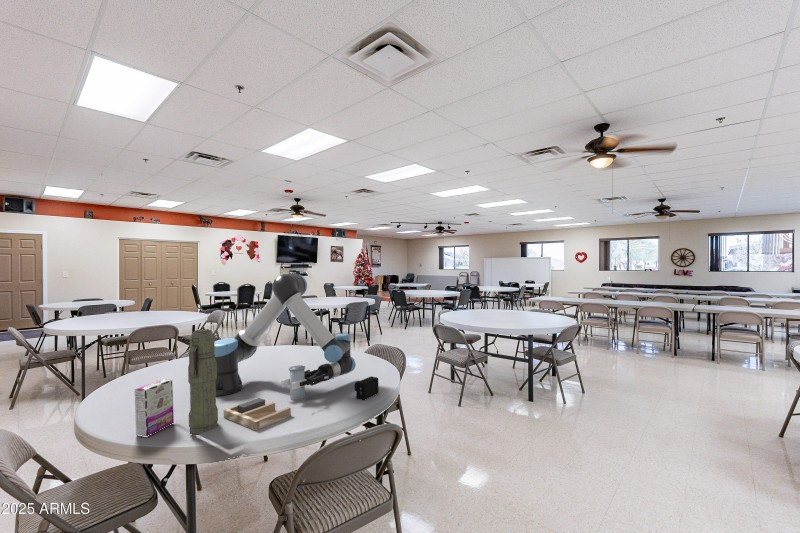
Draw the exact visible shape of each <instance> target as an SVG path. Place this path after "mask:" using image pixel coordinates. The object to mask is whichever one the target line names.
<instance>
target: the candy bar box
mask: <svg viewBox="0 0 800 533" xmlns="http://www.w3.org/2000/svg"><path fill="white" fill-rule="evenodd" d="M134 406H135V431H136V432H135V435H142V436H148V435H150V434H153V433H155V432H157V431H159V430H160V429H162V428H164V427H166V426H168V425H170V424H172V423H175V422H174V420H175V419H174V392H173V379H164V378H163V379H160V380H157V381H154V382H151V383H148V384H146V385H143V386H140V387H138V388H136V389H134ZM172 425H173V424H172ZM170 426H171V425H170ZM159 432H160V431H159ZM157 433H158V432H157ZM155 434H156V433H155Z"/></svg>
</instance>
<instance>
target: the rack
mask: <svg viewBox="0 0 800 533" xmlns="http://www.w3.org/2000/svg"><path fill="white" fill-rule="evenodd" d="M257 398H258V397H256V398H253V399H251V400H248V401H245V402H242V403H239V404H236V405H234V406H233V405H232V406H230V407H227V408H224V409H223V418H225V419H226V420H229V421H231V422H234V423H236V424H239V425H241V426H244V427H246V428H248V429H251V430H253V431H259V430H260V429H263V428H265V427H267V426H270V425H272V424H275V423H277V422H280V421H281V420H284V419H287V418H290V417H291V416H292V409H291V407H285V408H283V409H280V410H278V411H277V410H276V402H273V401H272V402H270V403H267V404H265V405H264V406H261V407H259V408H256V409H253V410H250V411H248V412H245V413H242V414H241V413H238V405H240V404H243V403H246V402H249V401H252V400H254V399H257Z"/></svg>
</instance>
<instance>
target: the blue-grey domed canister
mask: <svg viewBox="0 0 800 533" xmlns="http://www.w3.org/2000/svg"><path fill="white" fill-rule="evenodd" d="M305 369H306V366H305V365H300V364H299V365H298V364H297V365H293V366H289V367H288V371H289V378H290V385H289V388H290V389H289V394H290V395H289V397H290V400H291V401H300V400H303V401H306V400H307V398H306V395H305V394H306V388H305V387H306V385H305V386H302V387H300V388H297V389H294V390H292V383H293V382H296V381H299V380H302V379H305V375H304V371H305Z"/></svg>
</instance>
